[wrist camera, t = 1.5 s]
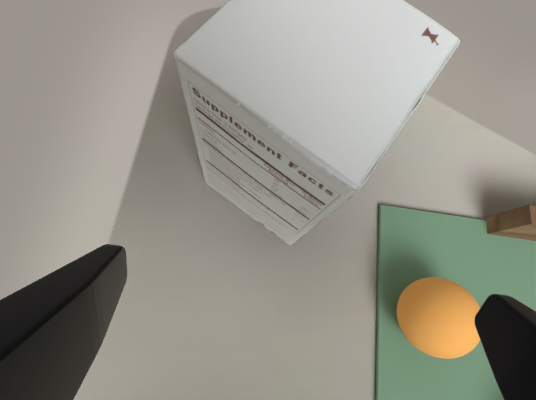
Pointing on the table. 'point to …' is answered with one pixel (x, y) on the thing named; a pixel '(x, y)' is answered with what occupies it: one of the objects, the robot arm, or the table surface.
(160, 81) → the table surface
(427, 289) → the ball
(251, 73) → the supplement box
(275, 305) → the table surface
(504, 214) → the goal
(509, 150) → the table surface
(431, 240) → the pitch mat
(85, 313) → the robot arm
